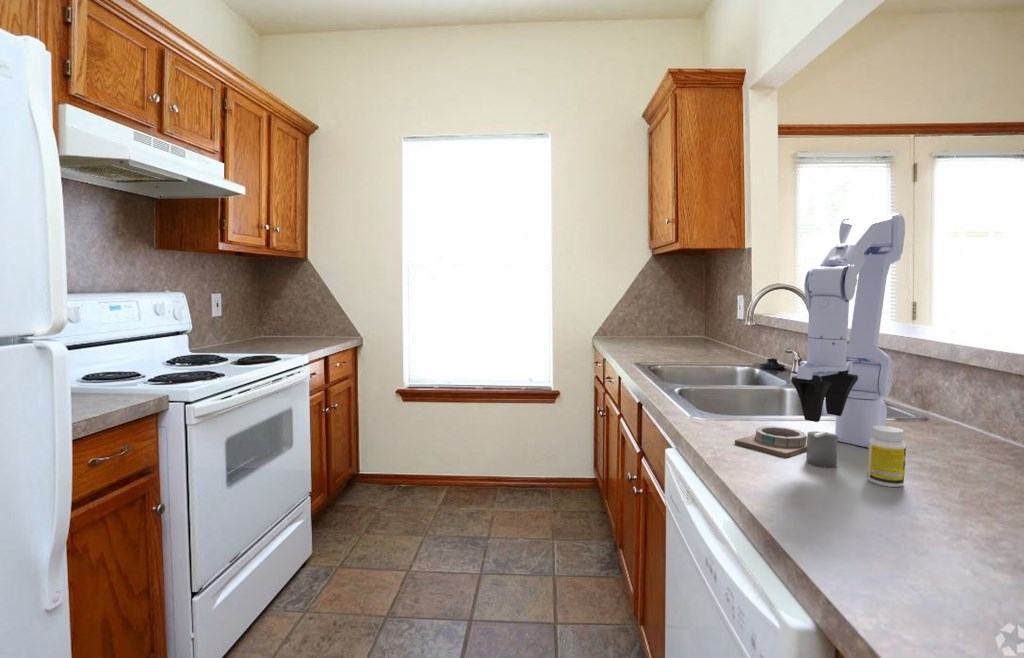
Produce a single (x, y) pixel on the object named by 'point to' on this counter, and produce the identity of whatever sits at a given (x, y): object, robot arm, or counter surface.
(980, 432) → the counter surface
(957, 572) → the counter surface
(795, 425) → the counter surface
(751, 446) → the hub plate
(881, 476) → the supplement bottle
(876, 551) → the counter surface
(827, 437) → the knob
